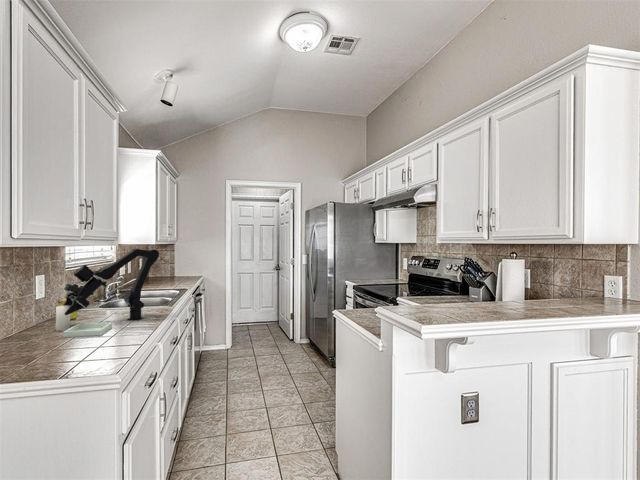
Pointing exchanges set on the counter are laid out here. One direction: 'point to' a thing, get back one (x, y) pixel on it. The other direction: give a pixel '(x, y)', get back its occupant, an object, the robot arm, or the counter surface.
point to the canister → (62, 318)
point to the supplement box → (72, 315)
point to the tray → (87, 330)
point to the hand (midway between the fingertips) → (62, 313)
